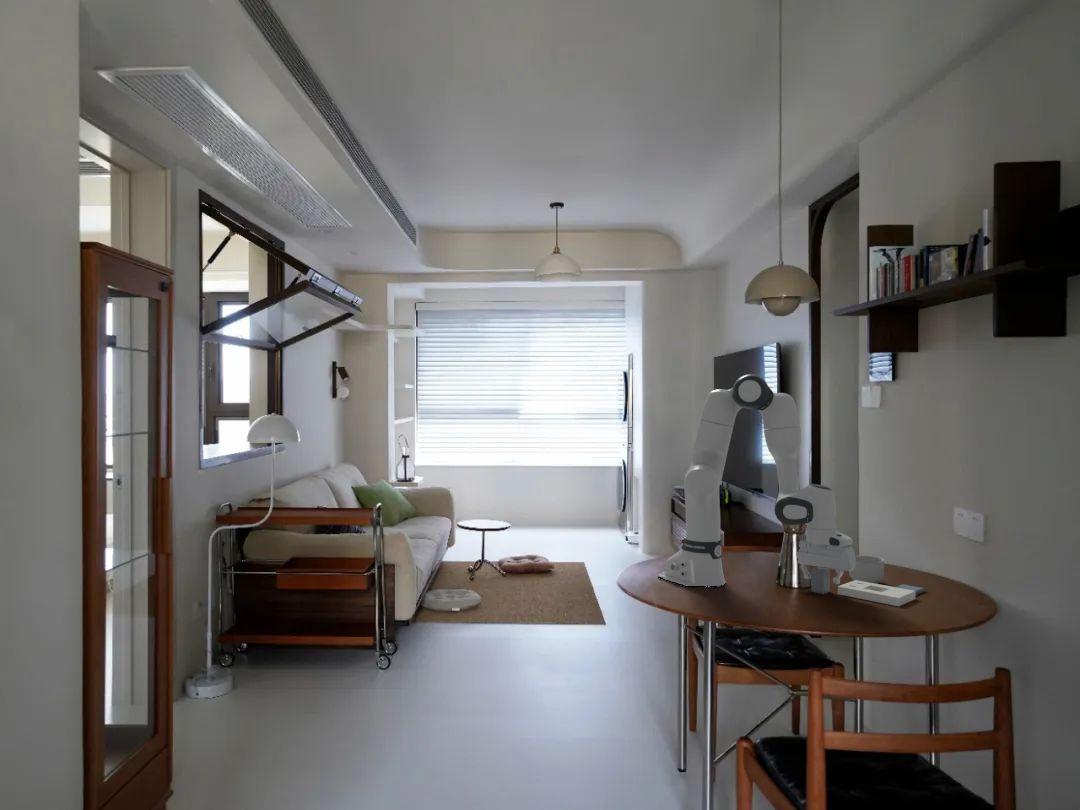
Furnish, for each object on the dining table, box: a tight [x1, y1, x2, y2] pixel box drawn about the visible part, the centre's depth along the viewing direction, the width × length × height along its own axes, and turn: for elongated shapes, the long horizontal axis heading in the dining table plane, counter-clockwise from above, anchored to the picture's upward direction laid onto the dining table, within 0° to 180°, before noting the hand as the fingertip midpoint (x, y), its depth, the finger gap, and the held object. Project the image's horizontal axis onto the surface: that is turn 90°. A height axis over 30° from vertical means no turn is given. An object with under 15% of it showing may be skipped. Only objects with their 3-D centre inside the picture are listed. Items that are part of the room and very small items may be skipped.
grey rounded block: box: [848, 554, 885, 584], centre depth 233 cm, size 14×11×8 cm
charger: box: [810, 566, 831, 595], centre depth 220 cm, size 4×4×7 cm
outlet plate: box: [837, 580, 916, 607], centre depth 214 cm, size 18×12×2 cm, turn 41°
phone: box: [895, 583, 926, 597], centre depth 219 cm, size 7×11×1 cm, turn 131°
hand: (821, 581), depth 220 cm, fingers open, 8 cm apart
